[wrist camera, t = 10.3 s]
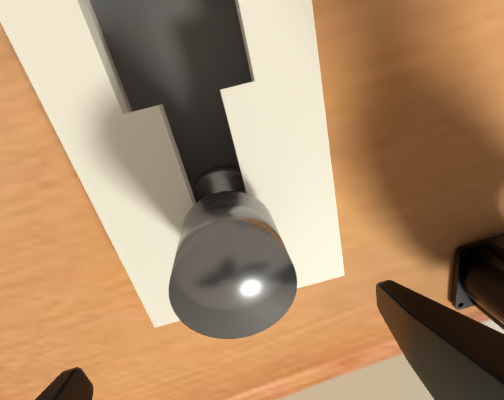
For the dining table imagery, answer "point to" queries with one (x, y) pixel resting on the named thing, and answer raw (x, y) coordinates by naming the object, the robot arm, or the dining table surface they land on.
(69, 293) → the dining table surface
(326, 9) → the dining table surface
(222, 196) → the keyhole peg
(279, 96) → the keyhole board
